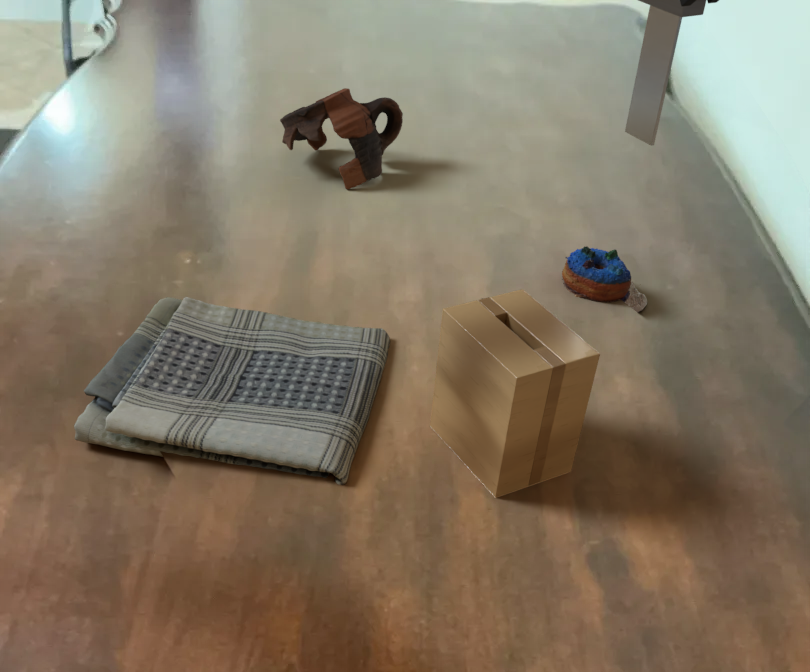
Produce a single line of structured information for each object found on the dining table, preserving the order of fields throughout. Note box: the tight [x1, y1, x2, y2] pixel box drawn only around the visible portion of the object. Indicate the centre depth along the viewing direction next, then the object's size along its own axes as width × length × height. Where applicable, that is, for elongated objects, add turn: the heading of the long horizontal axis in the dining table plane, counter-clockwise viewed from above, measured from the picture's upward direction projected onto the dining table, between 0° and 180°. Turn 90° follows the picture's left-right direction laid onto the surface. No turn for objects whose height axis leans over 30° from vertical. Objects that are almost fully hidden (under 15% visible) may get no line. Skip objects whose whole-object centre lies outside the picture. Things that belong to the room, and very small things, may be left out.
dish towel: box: [73, 296, 391, 486], centre depth 67 cm, size 19×18×3 cm
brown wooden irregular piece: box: [279, 87, 404, 190], centre depth 94 cm, size 12×10×8 cm
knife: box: [624, 0, 707, 146], centre depth 66 cm, size 5×2×18 cm, turn 30°
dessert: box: [561, 245, 648, 314], centre depth 81 cm, size 8×7×6 cm
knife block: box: [429, 288, 601, 499], centre depth 61 cm, size 8×6×10 cm
